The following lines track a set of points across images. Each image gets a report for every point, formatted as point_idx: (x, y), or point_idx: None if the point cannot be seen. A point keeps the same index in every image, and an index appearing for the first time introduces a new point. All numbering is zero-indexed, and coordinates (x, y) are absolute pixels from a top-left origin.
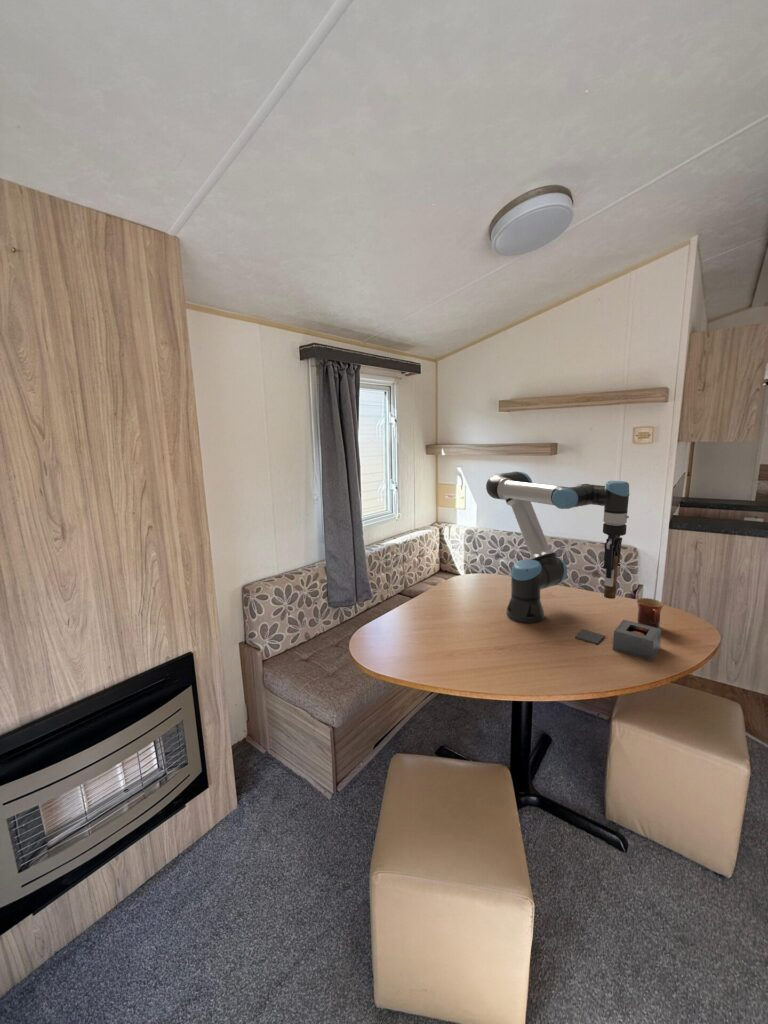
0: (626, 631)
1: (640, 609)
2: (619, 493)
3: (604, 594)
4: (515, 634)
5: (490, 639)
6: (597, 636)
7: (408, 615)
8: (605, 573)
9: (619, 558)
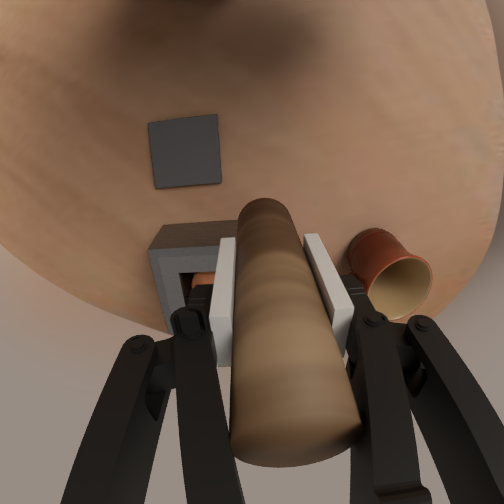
0: (172, 276)
1: (374, 261)
2: None
3: (246, 208)
4: (66, 17)
5: (18, 14)
6: (198, 170)
7: None
8: (214, 288)
9: (415, 391)
